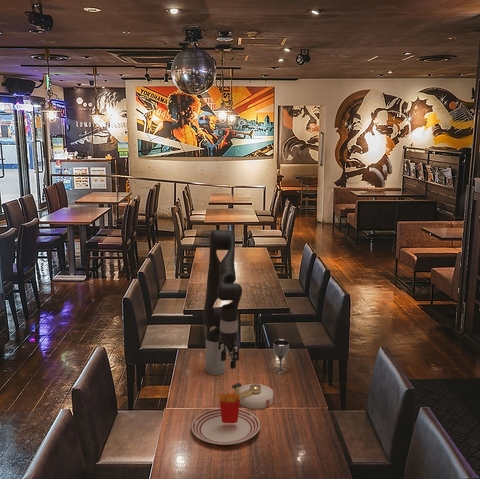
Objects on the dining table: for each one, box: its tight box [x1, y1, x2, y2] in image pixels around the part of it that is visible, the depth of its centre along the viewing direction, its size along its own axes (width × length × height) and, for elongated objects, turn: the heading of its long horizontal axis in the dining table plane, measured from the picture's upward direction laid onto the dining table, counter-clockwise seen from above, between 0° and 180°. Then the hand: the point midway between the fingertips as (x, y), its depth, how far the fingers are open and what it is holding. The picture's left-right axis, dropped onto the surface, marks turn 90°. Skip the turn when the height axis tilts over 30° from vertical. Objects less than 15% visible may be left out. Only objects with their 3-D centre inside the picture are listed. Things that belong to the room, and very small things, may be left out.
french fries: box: [218, 392, 241, 423], centre depth 216 cm, size 8×4×12 cm, turn 91°
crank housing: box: [239, 383, 274, 410], centre depth 239 cm, size 16×16×4 cm
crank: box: [231, 382, 261, 399], centre depth 235 cm, size 16×5×7 cm, turn 131°
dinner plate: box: [190, 407, 261, 446], centre depth 215 cm, size 28×27×3 cm
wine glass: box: [272, 339, 290, 374], centre depth 270 cm, size 8×8×15 cm
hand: (228, 364), depth 230 cm, fingers open, 8 cm apart
